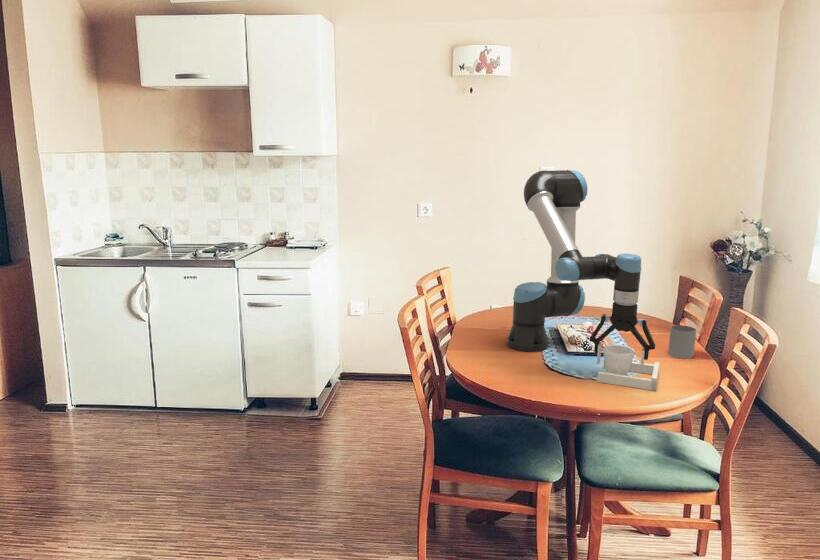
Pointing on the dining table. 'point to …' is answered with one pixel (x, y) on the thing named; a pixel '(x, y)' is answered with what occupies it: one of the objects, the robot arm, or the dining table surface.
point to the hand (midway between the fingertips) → (619, 365)
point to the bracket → (633, 381)
